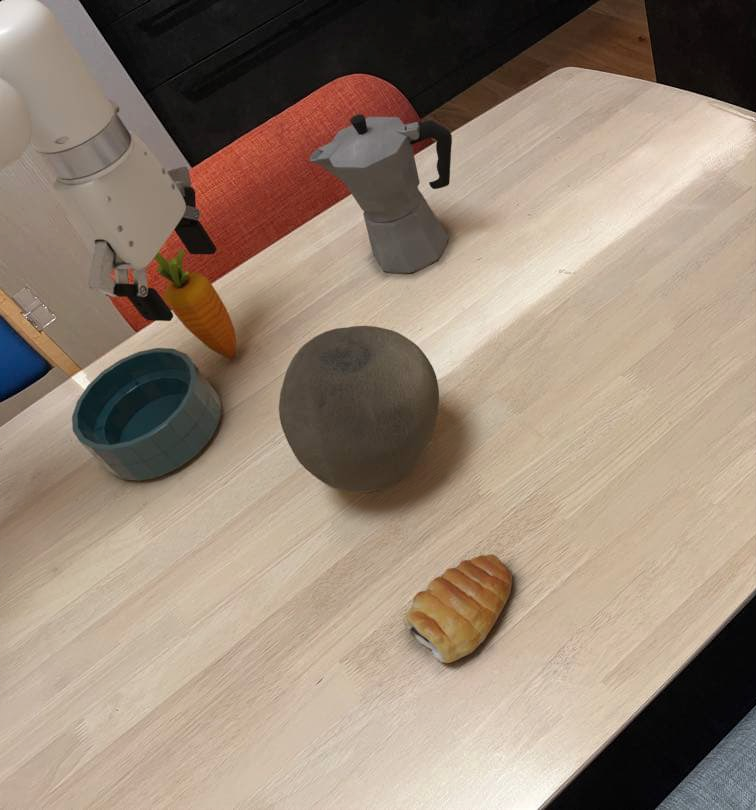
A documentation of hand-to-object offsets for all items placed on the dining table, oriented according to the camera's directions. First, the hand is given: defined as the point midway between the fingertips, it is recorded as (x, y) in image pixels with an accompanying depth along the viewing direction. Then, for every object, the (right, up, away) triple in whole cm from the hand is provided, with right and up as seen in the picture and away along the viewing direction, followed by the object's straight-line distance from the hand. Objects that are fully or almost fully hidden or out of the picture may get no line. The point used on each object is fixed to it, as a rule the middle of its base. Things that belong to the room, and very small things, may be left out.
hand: (183, 284), depth 94 cm
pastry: (+30, -30, -18) cm, 46 cm away
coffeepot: (+23, +6, +14) cm, 27 cm away
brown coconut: (+22, -18, -6) cm, 29 cm away
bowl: (-3, -15, +3) cm, 16 cm away
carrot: (+2, -7, +8) cm, 11 cm away
